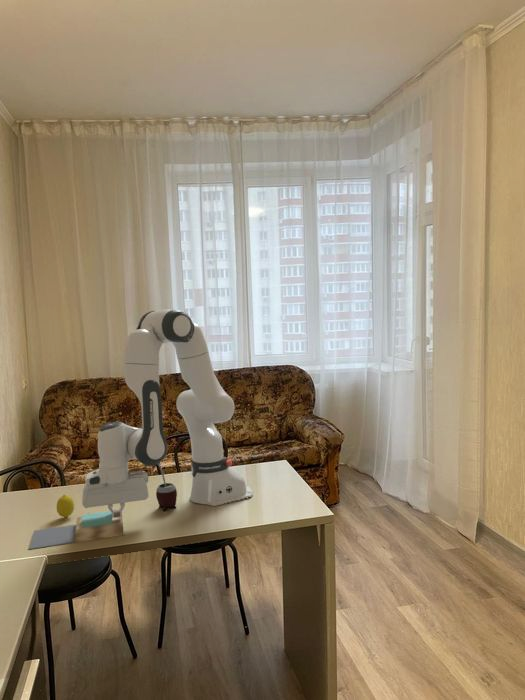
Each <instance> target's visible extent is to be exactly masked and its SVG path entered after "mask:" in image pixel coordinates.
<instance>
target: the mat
mask: <svg viewBox="0 0 525 700" xmlns="http://www.w3.org/2000/svg"><path fill="white" fill-rule="evenodd" d="M75 530H76V523H75V524H70V525H63V526H56V527H49V528H42V529H37V530H36V529H35V530H34V531H33V534H32V537H31V541H30V543H29V547H28V550H36V549H42V548H49V547H56V546H61V545H68V544H69V545H70V544H74V543H76V542H75Z"/></svg>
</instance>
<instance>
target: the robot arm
mask: <svg viewBox="0 0 525 700" xmlns="http://www.w3.org/2000/svg"><path fill="white" fill-rule="evenodd" d="M167 343H172V345H173V346H174V349H175V352H176V353H175V354H176V358H177V363H178V365H179V371H180V375H181V378H182V380H183V381H184V383H186V384H187V385H188V387H189V388H190V389H187V390H184V391H182V392H181V393H179V394H178V396H177V399H176V405H175V406H176V409H177V411H178V413H179V414H180V415H181V417H182V418H183V420H184V423H185V424H186V428H187V431H188V433H189V439H190V443H191V448H190V449H191V459H190V460H191V461H190V462H191V463H190V470H191V471H190V472H191V476H192V484H191V491H190V492H191V493H190V496H189V501H191V502H192V503H196V504H200V505H208V506H214V507H216V506H219V505H223V504H224V503H225V504H228V503H227V502H229V503H232V502H231V501H234V502H236V501H235V500H238V501H241V500H240V499H243V500H245V499H244V498H247V497H251V496H253V495H252V494H253V491H252V489H251V488H250V487H249V486H248V485H246V481H245V479H244V476H242V474H241V473H239V472H238V471H236V470H235V469H233V468H232V466H233V461H232V460H231V459H229V458H228V457H226V456H224V453H223V452H224V450H223V447H224V446H223V438H222V435H221V433H220V432H219V430H218V429H217V427H216V425H215V424H218V423H219V424H220V423H225V422H226V423H227V422H228V421H230V420H231V419H232V418H233V416H234V413H235V408H236V407H235V402H234V400H233V398H232V397H231V396H230V395H228V393H227V392H226V391H225V390H224V388H223V387H222V384H220V381H219V380H218V378H217V376H216V374H215V372H214V368H213V364H212V360H211V356H210V352H209V349H208V343H207V341H206V338H205V336H204V333H203V330H202V329H201V327H200V325H199V324H197V323H194V322H193V320H192V319H191V317H190V315H189V314H188V313H186V312H185V311H183V310H180V309H168V308H166V309H164V308H163V309H159V310H151V311H148V312H146V313H144V314H143V315H141V318H140V320H139V322H138V325H137V327H136V329H135V330H133V331H131V332H130V333H129V335H128V336H127V339H126V344H125V351H124V358H123V359H124V361H123V374H124V375H123V376H124V381H125V384H126V385H127V387H128V388H129V389H130V390H131V391H132V392H133V393H134V394H135V395H136V397H137V399H138V401H139V403H140V407H141V427H134V426H130V425H128V424H126V423H124V422H122V421H117V420H115V421H110V422H107V423H105V424H103V425H102V426H101V427H100V428H99V430H98V432H97V433H98V434H97V454H98V457H99V464H98V466H99V467H98V468H97V469H95V470H93V471H90V472H88V473H87V474H86V475H85V477H84V482H85V484H84V485H83V488H82V500H81V501H82V502H81V503H82V507H84V508H85V509H88V508H96V507H103V506H107V509H109V510H108V511H111V512H112V518H114V517H121V516H122V517H123V510H124V508H125V507H126V506H125V505H126V503H130V502H138V501H145V500H147V499H148V498H149V489H148V484H147V483H148V482H149V474H148V472H146V471H144V470H137V471H134V470H133V471H129V460H130V459H134V460H136V461H138V462H139V463H141V464H142V465H144V466H146V467H153V466H157V465H158V463H159V464H160V463H161V462H162V461H163V460H164V459H165V457H166V455H167V453H168V448H169V447H168V446H169V445H168V441H167V439H166V436H165V431H164V421H163V420H164V419H163V401H162V393H161V392H162V391H161V386H160V372H159V371H160V350H161V348H162V346H163V344H167ZM251 498H252V497H251ZM247 499H248V498H247ZM118 504H119V509H115V510H114V508H113V506H114V505H118Z"/></svg>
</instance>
